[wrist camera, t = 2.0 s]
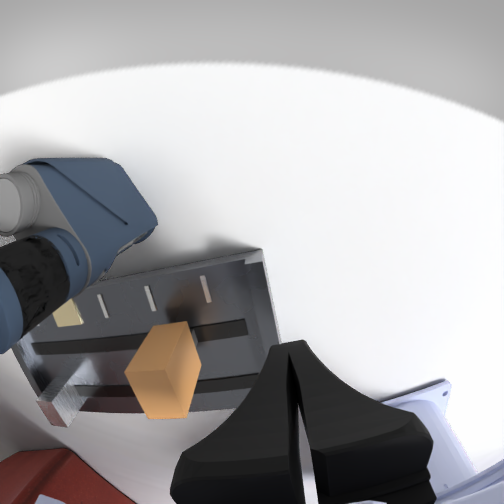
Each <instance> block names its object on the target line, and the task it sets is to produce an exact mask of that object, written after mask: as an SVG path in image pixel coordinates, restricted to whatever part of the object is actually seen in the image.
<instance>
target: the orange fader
mask: <svg viewBox="0 0 504 504" xmlns="http://www.w3.org/2000/svg"><path fill="white" fill-rule="evenodd" d="M197 343H198V341H197V338H196V335H195V331H194V329H189V326H188V323H187V321H184V322H177V323H170V324H163V325H155V326H153V327H152V329H151V330H150V332H149V333H148V335H147V336H146V338H145V340H144V341H143V343H142V344H141V346H140V347H139V349H138V351H137V352H136V354H135V355H134V357H133V359H132V360H131V362H130V364H129V365H128V367H127V368H126V370H125V372H124V373H125V375H126V377H127V379H128V381H129V383H130V385H131V387H132V389H133V391H134V393H135V395H136V397H137V399H138V401H139V403H140V405H141V407H142V409H143V410H144V412H145V414H146V416H147V418H148V419H176V418H187V415H188V411H189V408H190V404H191V400H192V397H193V393H194V390H195V386H196V383H197V379H198V376H199V372H200V369H201V362H200V359H199V356H198V353H197V350H196V346H197Z"/></svg>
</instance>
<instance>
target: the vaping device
mask: <svg viewBox="0 0 504 504" xmlns="http://www.w3.org/2000/svg"><path fill="white" fill-rule="evenodd" d="M157 225H158V222H157V218H156V216H155V214H154V213H153V211H152V210H151V208H150V207H149V205H148V204H147V203H146V201H145V200H144V198H143V197H142V196H141V194H140V193H139V191H138V190H137V188H136V187H135V185H134V184H133V183H132V181H131V180H130V178H129V177H128V175H127V174H126V172H125V171H124V169H123V168H122V167H121V166H120V165H119V164H117V163H114V162H113V161H112V160H110V159H107V158H38V159H32V160H29V161H27V162H25V163H23V164H22V165H19V166H17V167H15V168H14V169H13V170H12V171H11V172H10V173H6V174H0V235H1V236H5V237H8V236H11V235H14V237H15V239H16V240H17V241H15V242H12V243H9V244H7V245H4V246H2V247H0V354H3V353H5V352H6V351H7V350H9V349H10V348H11V347H12V346H13V345H14V344H16V343H17V342H18V341H19V340H20V339H21V338H23V337H24V336H25V335H26V334H27V333H28V332H30V331H31V330H32V329H33V328H35V327H36V326H37V325H38V324H40V323H41V322H42V321H43V320H45V319H46V318H47V317H48V316H49V315H51V314H52V313H53V312H54V311H56V310H57V309H58V308H60V307H61V306H62V305H63V304H65V303H66V302H67V301H68V300H70V299H71V298H74V297H76V296H78V295H80V294H81V293H82V292H83V291H84V290H85V289H86V288H87V287H89V286H93V285H94V284H95V283H97V282H98V281H99V280H100V279H101V278H103V277H104V276H105V274H106V273H107V271H108V270H109V269H110V267H111V265H112V263H113V261H114V259H115V257H116V256H117V255H119V254H120V253H122V252H123V251H125V250H126V249H128V248H129V247H131V246H132V244H137V243H140V242H142V241H143V240H145V239H146V238H147V237H149V236H150V234H151V233H152V232H153V230H154V228H155V226H157ZM38 308H39V310H38ZM42 308H43V309H42ZM31 310H32V311H31ZM24 317H25V318H24ZM23 331H24V332H25V333H24V332H23ZM23 335H24V336H23Z"/></svg>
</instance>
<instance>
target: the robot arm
mask: <svg viewBox="0 0 504 504" xmlns="http://www.w3.org/2000/svg"><path fill="white" fill-rule="evenodd" d="M450 391H451V383H450V382H449V381H444V382H441V383H439V384H436V385H433V386H431V387H428V388H425V389H422V390H419V391H416V392H413V393H410V394H407V395H404V396H401V397H398V398H395V399H391V400H388V401H385V402H381V403H380V402H378V401H375V400H373V399H371V398H369V397H367V396H365V395H363V394H361V393H360V392H358V391H356V390H355V389H353V388H352V387H350V386H349V385H347V384H346V383H344V382H343V381H342V380H341V379H339V378H338V377H337V376H336V375H335V374H333V373H332V372H331V371H330V370H329V369H328V368H327V367H326V366H325V365H324V364H323V363H322V362H321V361H320V360H319V359H318V358H317V356H316V355H315V354H314V353H313V352H312V350H311V349H310V347H309V346H308V344H307V342H306V341H304V340H298V341H293V342H288V343H282V344H277V345H272V346H271V347H270V349H269V353H268V356H267V358H266V361H265V363H264V366H263V368H262V370H261V372H260V374H259V376H258V378H257V380H256V381H255V383H254V385H253V386H252V388H251V390H250V391H249V393H248V394H247V396H246V397H245V399H244V400H243V401H242V403H241V404H240V405H239V406H238V408H237V409H236V410H235V411H234V412H233V413H232V414H231V416H230V417H229V418H228V419H227V420H226V421H225V422H224V423H223V424H222V425H220V426H219V427H218V428H217V429H216V430H215V431H213V432H212V433H211V434H210V435H208V436H207V437H206V438H204V439H203V440H201V441H200V442H198V443H197V444H195V445H193V446H192V447H190V448H189V449H187V450H185V451H184V452H182V454H181V456H180V459H179V461H178V463H177V466H176V468H175V471H174V475H173V479H172V483H171V487H170V495H171V497H172V499H173V500H174V501H175V503H176V504H306V503H305V495H304V487H303V479H302V471H301V463H300V454H299V422H298V405H299V408H300V412H301V416H302V419H303V423H304V427H305V430H306V434H307V438H308V441H309V445H310V450H311V456H312V463H313V469H314V476H315V483H316V489H317V496H318V503H319V504H504V459H503V460H501V461H500V462H498V463H496V464H495V465H493V466H491V467H489V468H488V469H486V470H484V471H482V472H480V473H478V472H477V470H476V468H475V466H474V465H473V463H472V461H471V459H470V458H469V456H468V454H467V452H466V451H465V449H464V447H463V446H462V444H461V442H460V441H459V439H458V437H457V436H456V434H455V432H454V431H453V429H452V427H451V426H450V424H449V423H448V421H447V419H446V418H445V413H446V409H447V404H448V400H449V396H450ZM35 504H65V503H64V502H62V501H59V500H56V499H53V498H50V497H48V496H45V495H39V497H38V499H37V500H36V502H35Z"/></svg>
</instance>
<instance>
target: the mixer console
mask: <svg viewBox="0 0 504 504" xmlns="http://www.w3.org/2000/svg"><path fill="white" fill-rule="evenodd" d="M42 309H43V308H42ZM38 310H39V308H38ZM31 311H32V310H31ZM24 318H25V317H24ZM184 321H187V323H188V326H189V329H194V331H195V335H196V338H197V341H198V343H197V346H196V350H197V353H198V356H199V359H200V362H201V369H200V372H199V376H198V379H197V383H196V386H195V390H194V393H193V397H192V400H191V404H190V408H189V411H188V412H195V411H209V410H221V409H231V408H238V406H239V405H240V404H241V403H242V401H243V400H244V399H245V397H246V396H247V394H248V393H249V391H250V390H251V388H252V386H253V385H254V383H255V381H256V380H257V378H258V376H259V374H260V372H261V370H262V368H263V366H264V363H265V361H266V358H267V356H268V353H269V349H270V347H271V346H272V345H277V344H281V339H280V334H279V329H278V324H277V319H276V314H275V309H274V304H273V299H272V294H271V289H270V284H269V279H268V274H267V269H266V265H265V260H264V255H263V250H262V249H260V250H255V251H250V252H245V253H240V254H235V255H230V256H224V257H219V258H214V259H209V260H204V261H199V262H194V263H189V264H184V265H179V266H173V267H168V268H163V269H158V270H153V271H148V272H143V273H138V274H133V275H128V276H123V277H117V278H112V279H107V280H102V281H98V282H97V283H95V284H94V285H93V286H89V287H87V288H86V289H85V290H84V291H83V292H82V293H81V294H80V295H78V296H76V297H74V298H71V299H70V300H68V301H67V302H66V303H65V304H63V305H62V306H61V307H60V308H58V309H57V310H56V311H54V312H53V313H52V314H51V315H49V316H48V317H47V318H46V319H45V320H43V321H42V322H41V323H40V324H38V325H37V326H36V327H35V328H33V329H32V330H31V331H30V332H28V333H27V334H26V335H25V336H24V335H23V336H24V337H23V338H21V339H20V340H19V341H18V342H17V343H16V344H14V345H13V346H12V347H11V348H12V350H13V352H14V354H15V356H16V358H17V360H18V362H19V364H20V366H21V368H22V370H23V372H24V374H25V375H26V377H27V379H28V381H29V383H30V384H31V386H32V388H33V390H34V391H35V393H36V395H37V396H38V398H37V400H36V402H37V403H38V405H39V406H40V408H41V410H42V411H43V413H44V414H45V416H46V417H47V419H48V420H49V422H50V423H51V425H54V426H61V427H69V425H70V424H71V422H72V421H73V419H74V417H75V416H76V414H77V413H78V411H87V412H105V413H145V412H144V410H143V409H142V407H141V405H140V403H139V401H138V399H137V397H136V395H135V393H134V391H133V389H132V387H131V385H130V383H129V381H128V379H127V377H126V375H125V373H124V372H125V370H126V368H127V367H128V365H129V364H130V362H131V360H132V359H133V357H134V355H135V354H136V352H137V351H138V349H139V347H140V346H141V344H142V343H143V341H144V340H145V338H146V336H147V335H148V333H149V332H150V330H151V329H152V327H153V326H155V325H163V324H170V323H177V322H184ZM23 332H24V331H23ZM24 333H25V332H24Z"/></svg>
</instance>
